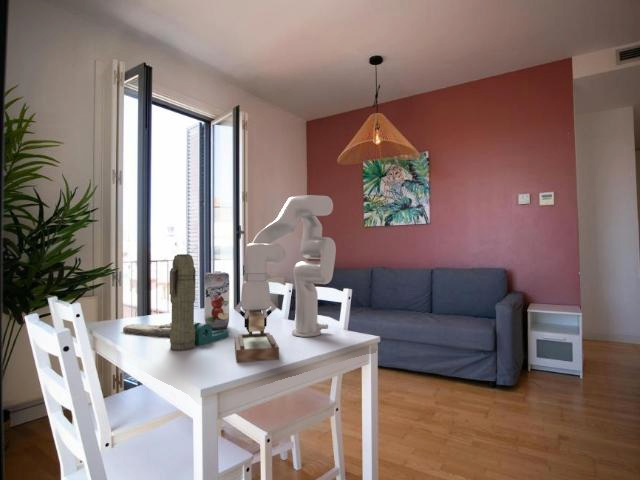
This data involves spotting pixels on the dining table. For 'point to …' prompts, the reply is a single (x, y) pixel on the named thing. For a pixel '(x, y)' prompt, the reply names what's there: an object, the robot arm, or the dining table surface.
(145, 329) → the long grey stone
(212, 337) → the bracket
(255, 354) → the dock
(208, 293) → the juice carton
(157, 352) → the dining table surface
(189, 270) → the thermos
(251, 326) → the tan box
